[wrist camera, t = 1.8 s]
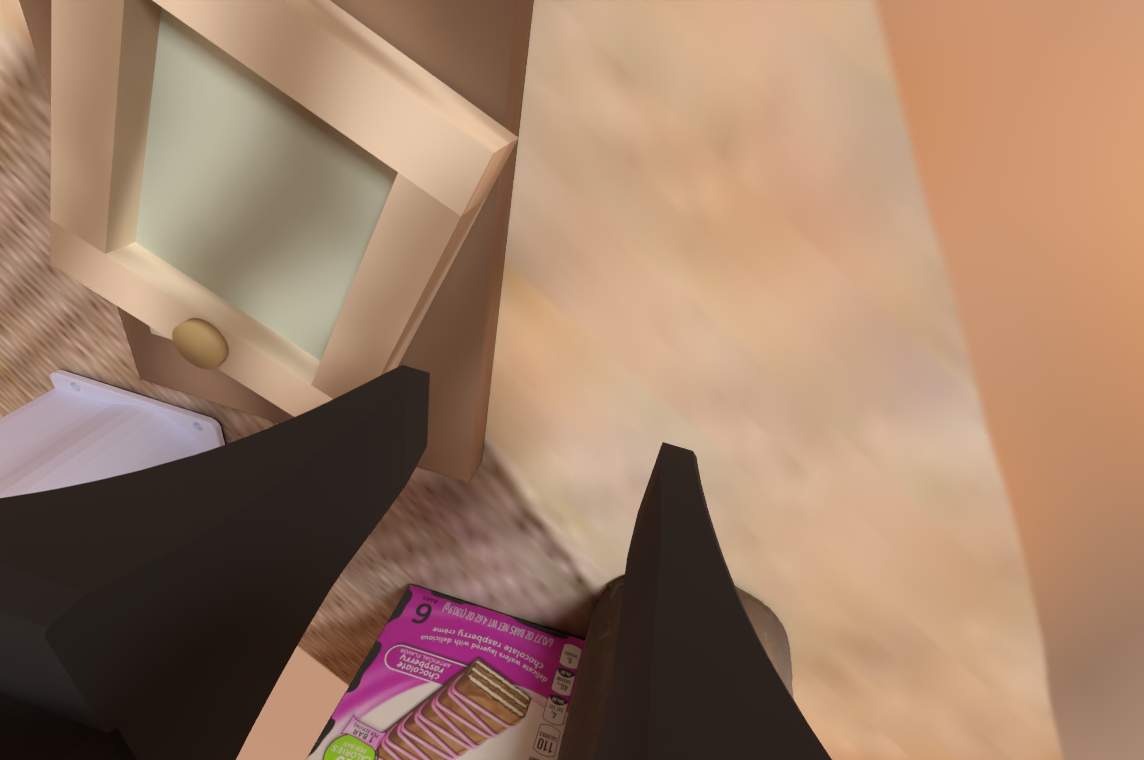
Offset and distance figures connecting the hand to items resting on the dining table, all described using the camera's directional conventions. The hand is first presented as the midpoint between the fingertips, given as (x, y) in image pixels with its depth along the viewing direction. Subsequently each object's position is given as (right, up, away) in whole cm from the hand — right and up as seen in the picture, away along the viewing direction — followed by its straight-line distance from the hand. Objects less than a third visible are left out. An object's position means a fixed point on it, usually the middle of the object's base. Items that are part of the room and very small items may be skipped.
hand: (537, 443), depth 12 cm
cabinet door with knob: (-9, +7, +7) cm, 14 cm away
